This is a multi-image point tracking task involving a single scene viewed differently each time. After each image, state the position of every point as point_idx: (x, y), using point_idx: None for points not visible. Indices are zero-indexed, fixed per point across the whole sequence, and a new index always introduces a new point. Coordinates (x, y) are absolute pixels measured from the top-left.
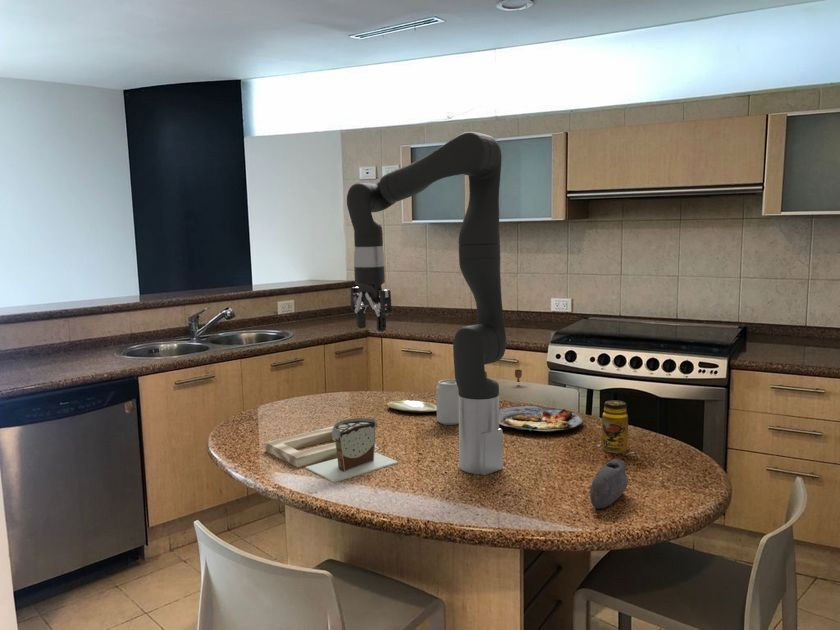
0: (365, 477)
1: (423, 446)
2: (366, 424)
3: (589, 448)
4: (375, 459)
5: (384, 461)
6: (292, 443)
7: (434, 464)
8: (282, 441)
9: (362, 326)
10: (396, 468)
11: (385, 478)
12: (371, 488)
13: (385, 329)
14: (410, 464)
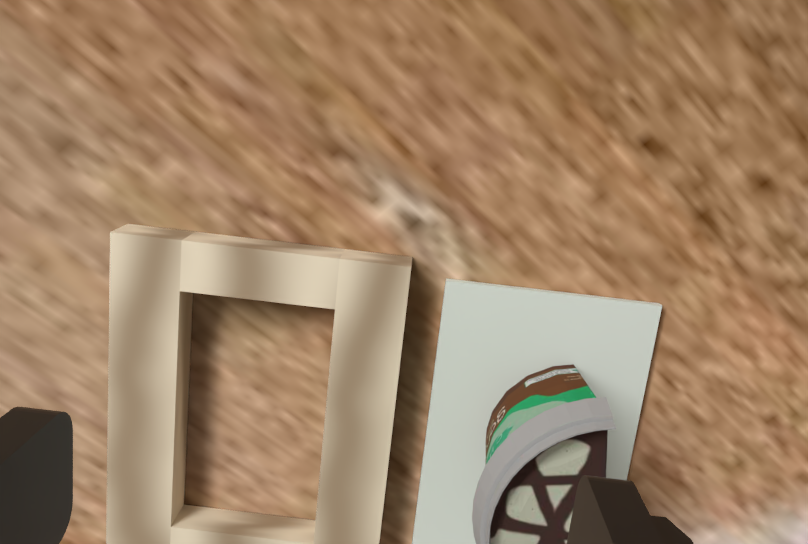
0: (655, 480)
1: (595, 57)
2: (594, 467)
3: None
4: (563, 346)
5: (612, 339)
6: (175, 478)
7: (794, 210)
8: (148, 514)
9: (58, 472)
10: (689, 344)
11: (726, 442)
12: (749, 533)
13: (633, 487)
14: (706, 275)
